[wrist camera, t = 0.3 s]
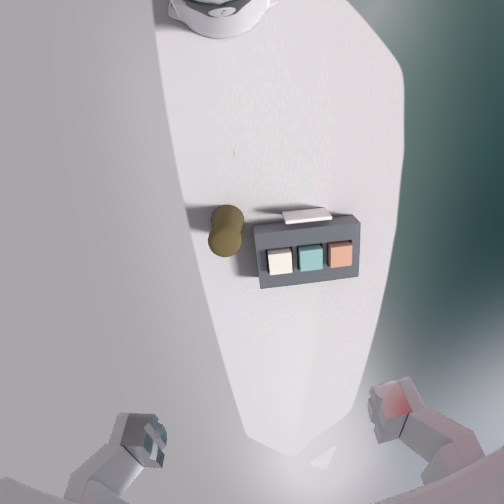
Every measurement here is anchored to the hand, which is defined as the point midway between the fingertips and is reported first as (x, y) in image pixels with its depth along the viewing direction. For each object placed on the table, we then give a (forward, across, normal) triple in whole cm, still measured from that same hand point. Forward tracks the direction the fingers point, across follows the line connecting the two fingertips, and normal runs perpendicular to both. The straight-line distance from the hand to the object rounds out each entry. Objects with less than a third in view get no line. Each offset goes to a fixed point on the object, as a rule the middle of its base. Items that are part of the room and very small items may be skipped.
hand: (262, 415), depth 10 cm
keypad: (+47, -9, +15) cm, 50 cm away
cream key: (+44, -3, +16) cm, 47 cm away
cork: (+47, +5, +8) cm, 48 cm away
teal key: (+44, -9, +16) cm, 48 cm away
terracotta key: (+44, -14, +16) cm, 49 cm away
